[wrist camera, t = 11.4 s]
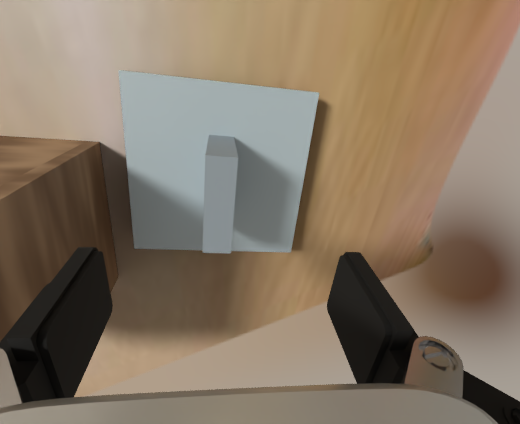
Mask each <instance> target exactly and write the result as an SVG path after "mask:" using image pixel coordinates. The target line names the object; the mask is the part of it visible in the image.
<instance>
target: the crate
mask: <svg viewBox="0 0 520 424" xmlns="http://www.w3.org/2000/svg"><path fill="white" fill-rule="evenodd" d="M78 247H96V248H97V249H98V251H102V252H103V255H104V261H105V266H106V272H107V277H108V283H109V288H110V293H111V291H112V289H113V287H114V285H115V283H116V281H117V279H118V271H117V264H116V257H115V249H114V242H113V235H112V228H111V221H110V214H109V207H108V200H107V193H106V185H105V178H104V171H103V164H102V157H101V150H100V143H99V142H90V141H74V140H57V139H41V138H25V137H9V136H0V342H1V340H2V339H3V338H4V337H5V335H6V334H7V333H8V332H9V330H10V329H11V328H12V327H13V325H14V324H15V323H16V322H17V320H18V319H19V318H20V317H21V315H22V314H23V313H24V312H25V310H26V309H27V308H28V307H29V305H30V304H31V303H32V301H33V300H34V299H35V298H36V296H37V295H38V294H39V293H40V291H41V290H42V289H43V288H44V287H45V286H46V285H47V284H49V283H50V282H51V281H52V280H53V279H54V277H55V276H56V275H57V274H58V272H59V271H60V270H61V268H62V267H63V266H64V265H65V263H66V262H67V261H68V260H69V258H70V257H71V256H72V254H73V253H74V252H75V251H76V249H77V248H78Z"/></svg>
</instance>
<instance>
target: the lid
mask: <svg viewBox="0 0 520 424" xmlns="http://www.w3.org/2000/svg"><path fill="white" fill-rule="evenodd" d="M119 82H120V93H121V104H122V116H123V127H124V138H125V150H126V161H127V172H128V184H129V195H130V206H131V218H132V229H133V240H134V249H167V250H203V253H231V251H254V252H291V249H292V243H293V237H294V232H295V226H296V221H297V215H298V209H299V204H300V198H301V193H302V187H303V181H304V176H305V170H306V165H307V159H308V153H309V148H310V142H311V137H312V131H313V125H314V120H315V114H316V108H317V103H318V97H319V93H317V92H309V91H301V90H292V89H283V88H274V87H265V86H256V85H248V84H239V83H230V82H221V81H212V80H203V79H194V78H186V77H177V76H168V75H159V74H150V73H141V72H133V71H124V70H119Z"/></svg>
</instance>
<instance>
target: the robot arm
mask: <svg viewBox="0 0 520 424" xmlns="http://www.w3.org/2000/svg"><path fill="white" fill-rule="evenodd" d="M327 310H328V313H329V315H330V318H331V320H332V323H333V325H334V328H335V330H336V333H337V335H338V338H339V340H340V343H341V345H342V348H343V350H344V352H345V355H346V357H347V360H348V362H349V365H350V367H351V370H352V372H353V375H354V377H355V379H356V382H357V384H335V385H334V384H332V385H309V386H285V387H284V386H283V387H261V388H239V389H216V390H195V391H177V392H156V393H137V394H118V395H102V396H87V397H74V395H75V393H76V391H77V389H78V386H79V384H80V382H81V380H82V377H83V375H84V373H85V371H86V369H87V366H88V364H89V362H90V360H91V357H92V355H93V353H94V351H95V349H96V346H97V344H98V342H99V340H100V337H101V335H102V333H103V331H104V329H105V326H106V324H107V322H108V320H109V317H110V315H111V312H112V299H111V294H110V288H109V283H108V277H107V272H106V266H105V261H104V255H103V252H102V251H98V249H97V248H96V247H78V248H77V249H76V251H75V252H74V253H73V254H72V256H71V257H70V258H69V260H68V261H67V262H66V263H65V265H64V266H63V267H62V268H61V270H60V271H59V272H58V274H57V275H56V276H55V277H54V279H53V280H52V281H51V282H50V283H49V284H47V285H46V286H45V287H44V288H43V289H42V290H41V291H40V293H39V294H38V295H37V296H36V298H35V299H34V300H33V301H32V303H31V304H30V305H29V307H28V308H27V309H26V310H25V312H24V313H23V314H22V315H21V317H20V318H19V319H18V320H17V322H16V323H15V324H14V325H13V327H12V328H11V329H10V330H9V332H8V333H7V334H6V335H5V337H4V338H3V339H2V340H1V342H0V424H520V402H519V401H518V400H516V399H514V398H512V397H510V396H508V395H507V394H505V393H503V392H502V391H500V390H498V389H496V388H494V387H493V386H491V385H489V384H487V383H485V382H484V381H482V380H480V379H478V378H476V377H475V376H473V375H471V374H469V373H468V372H466V371H464V370H463V363H462V360H461V359H460V357H459V355H458V354H457V353H456V352H455V351H454V350H453V349H452V348H451V347H450V346H448V345H447V344H446V343H444V342H442V341H440V340H438V339H435V338H433V337H428V336H423V337H418V335H417V334H416V333H415V331H414V329H413V328H412V326H411V325H410V323H409V322H408V321H407V319H406V318H405V316H404V315H403V313H402V312H401V311H400V309H399V308H398V306H397V305H396V303H395V302H394V300H393V299H392V298H391V296H390V295H389V293H388V292H387V290H386V289H385V288H384V286H383V285H382V283H381V282H380V280H379V279H378V277H377V276H376V275H375V273H374V272H373V270H372V269H371V267H370V266H369V265H368V263H367V262H366V260H365V259H364V257H363V256H362V255H361V253H359V252H346V253H344V255H343V256H340V258H339V262H338V265H337V269H336V273H335V277H334V280H333V284H332V288H331V291H330V295H329V299H328V302H327Z"/></svg>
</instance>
